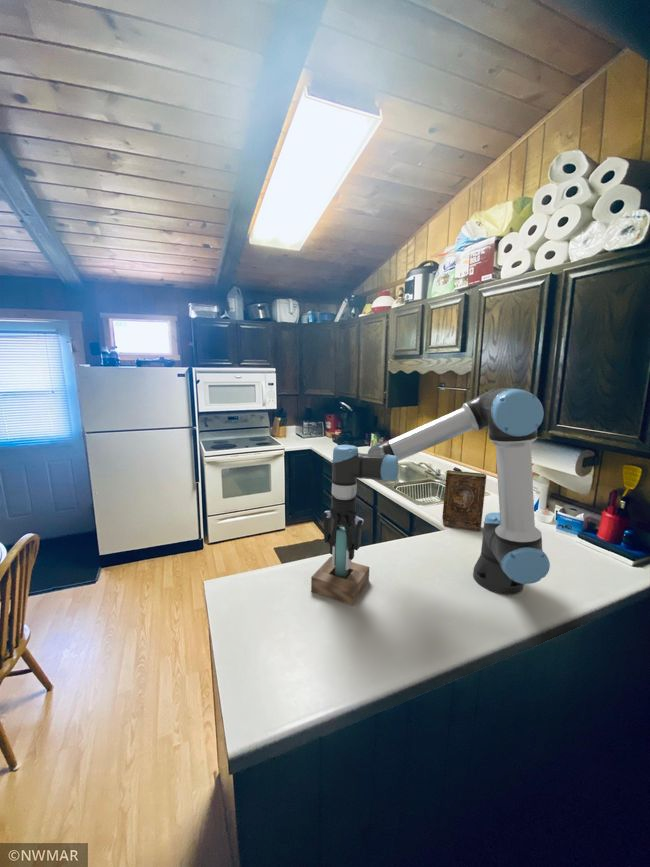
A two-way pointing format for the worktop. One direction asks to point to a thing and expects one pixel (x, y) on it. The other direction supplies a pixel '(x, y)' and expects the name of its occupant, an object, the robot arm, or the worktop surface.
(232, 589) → the worktop surface
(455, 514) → the book
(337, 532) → the peg
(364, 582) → the socket block
